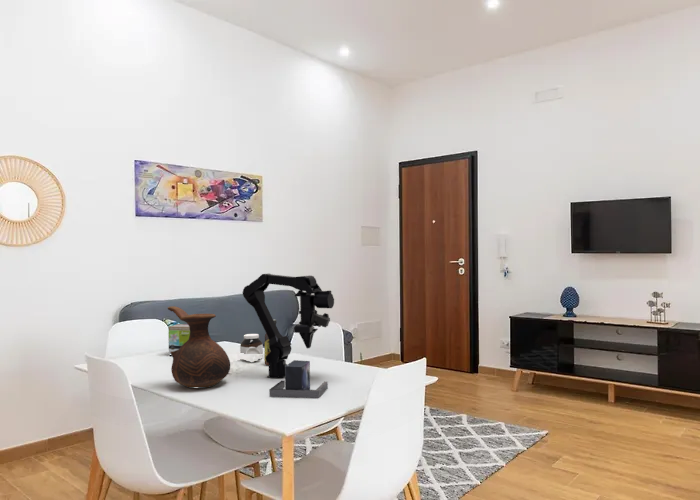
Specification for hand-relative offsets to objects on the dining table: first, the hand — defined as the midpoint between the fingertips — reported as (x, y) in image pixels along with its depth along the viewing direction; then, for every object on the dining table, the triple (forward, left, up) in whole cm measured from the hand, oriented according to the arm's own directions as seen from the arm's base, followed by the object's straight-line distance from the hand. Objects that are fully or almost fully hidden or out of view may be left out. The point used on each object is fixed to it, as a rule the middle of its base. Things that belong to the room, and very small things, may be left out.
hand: (308, 348), depth 214 cm
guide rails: (+2, -20, -12) cm, 23 cm away
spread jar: (-36, +33, -12) cm, 50 cm away
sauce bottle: (-24, +25, -12) cm, 37 cm away
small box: (+2, -21, -12) cm, 24 cm away
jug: (-39, -13, -12) cm, 43 cm away
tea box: (-75, +45, -12) cm, 88 cm away
